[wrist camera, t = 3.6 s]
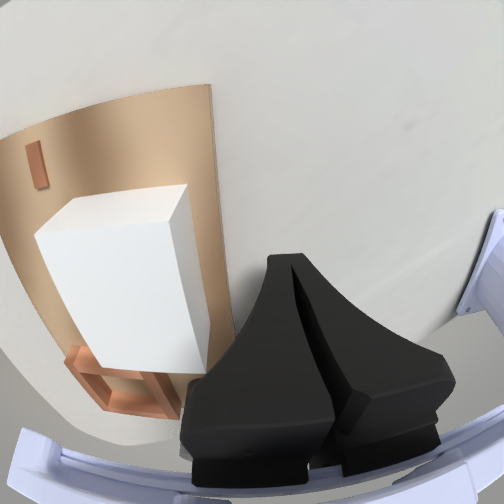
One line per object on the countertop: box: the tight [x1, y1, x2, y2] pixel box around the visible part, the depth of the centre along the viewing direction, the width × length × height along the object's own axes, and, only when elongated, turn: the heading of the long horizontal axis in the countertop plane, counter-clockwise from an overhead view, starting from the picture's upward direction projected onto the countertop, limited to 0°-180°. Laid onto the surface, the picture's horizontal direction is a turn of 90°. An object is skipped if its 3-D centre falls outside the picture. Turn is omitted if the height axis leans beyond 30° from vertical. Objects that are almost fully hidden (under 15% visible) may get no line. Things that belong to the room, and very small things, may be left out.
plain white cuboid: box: [34, 184, 211, 374], centre depth 11 cm, size 5×7×3 cm
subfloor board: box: [0, 84, 235, 420], centre depth 13 cm, size 12×20×2 cm, turn 2°
